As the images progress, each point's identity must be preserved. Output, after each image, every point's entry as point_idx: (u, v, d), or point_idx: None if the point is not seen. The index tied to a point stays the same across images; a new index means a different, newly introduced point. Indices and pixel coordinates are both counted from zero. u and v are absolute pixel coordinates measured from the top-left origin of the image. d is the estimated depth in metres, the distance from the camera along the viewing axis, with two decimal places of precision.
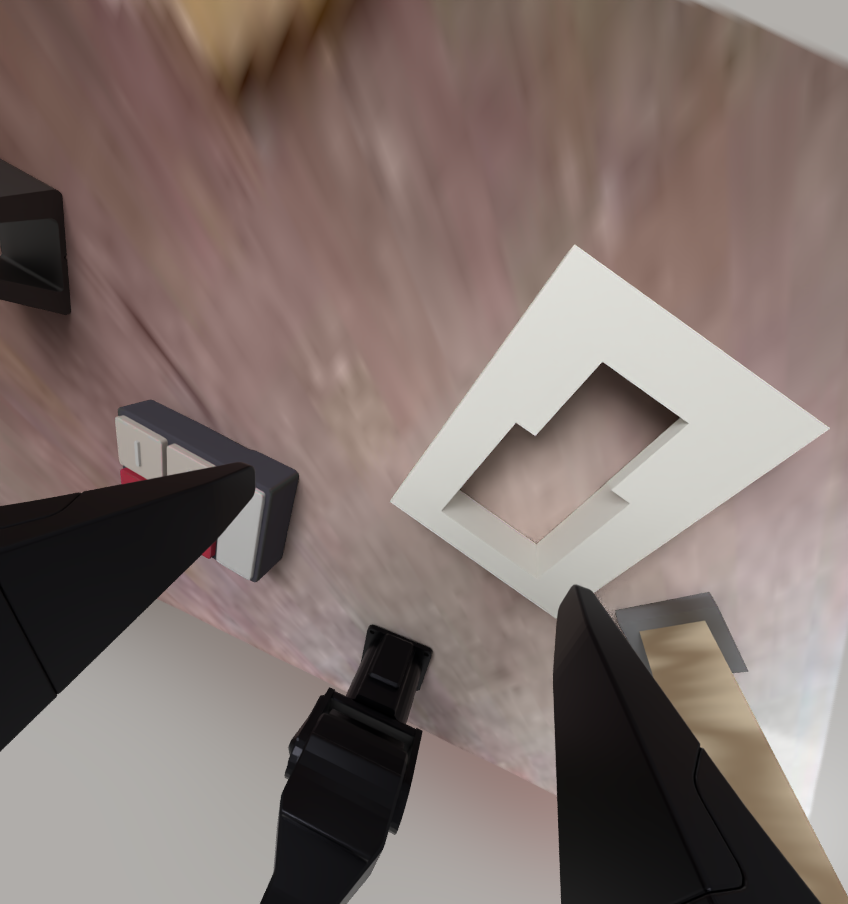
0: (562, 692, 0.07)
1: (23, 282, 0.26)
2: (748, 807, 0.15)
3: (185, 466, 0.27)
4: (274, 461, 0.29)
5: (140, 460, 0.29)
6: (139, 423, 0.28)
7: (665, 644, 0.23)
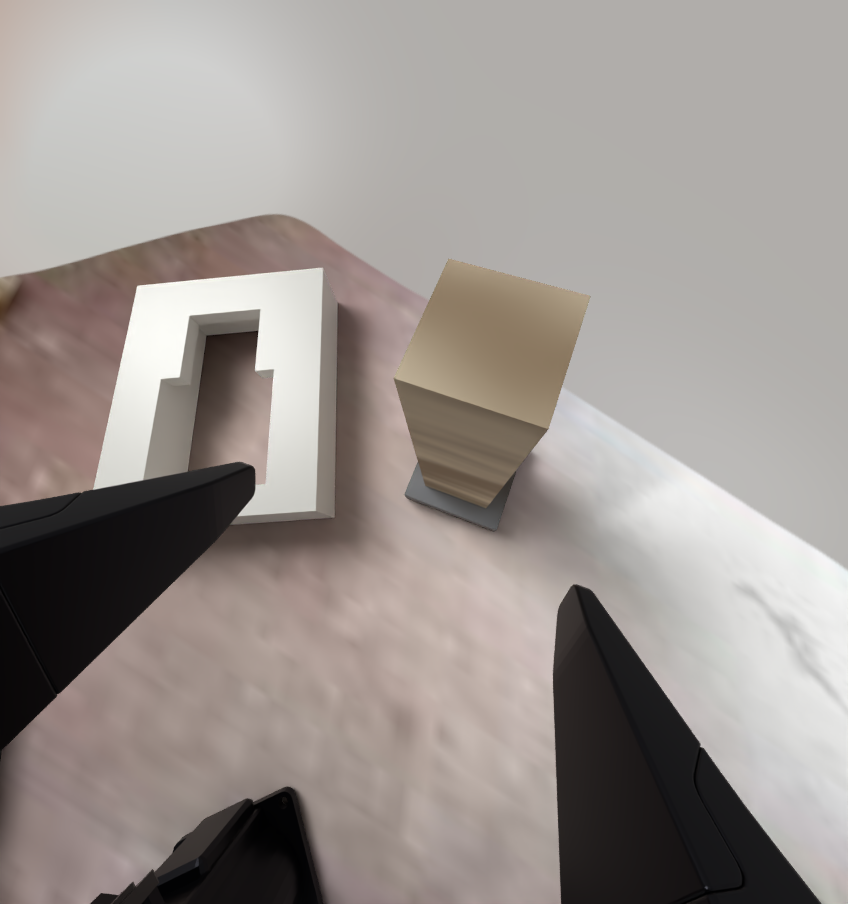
0: (562, 692, 0.07)
1: None
2: None
3: None
4: None
5: None
6: None
7: None
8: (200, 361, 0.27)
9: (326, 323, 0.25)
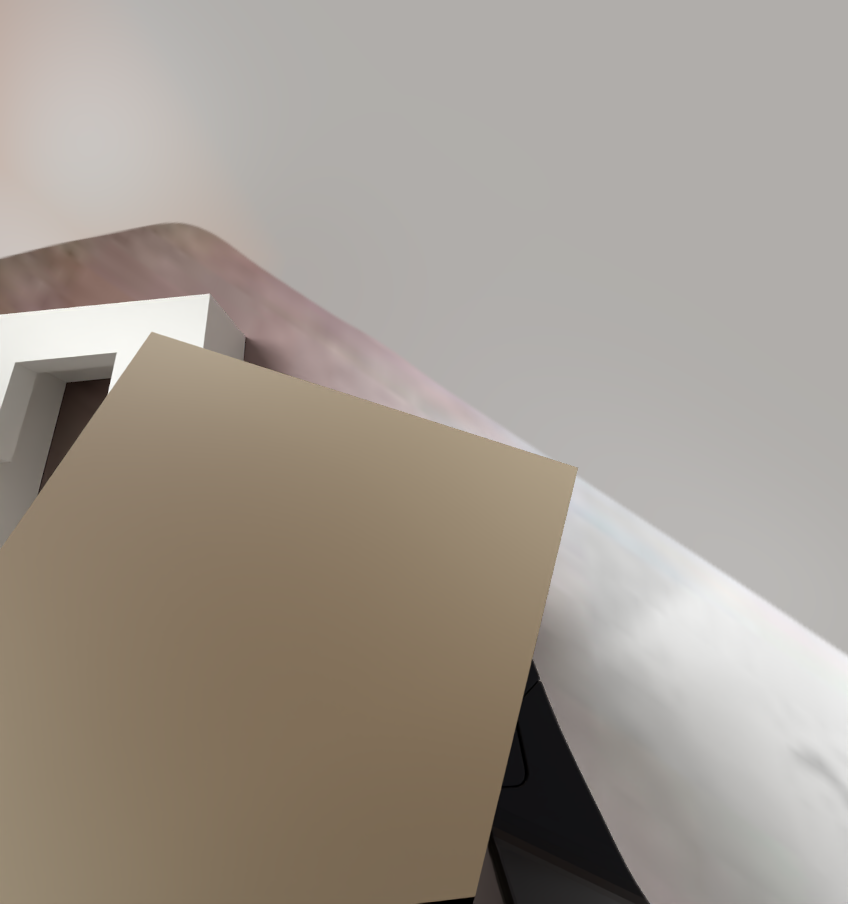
0: None
1: None
2: None
3: None
4: None
5: None
6: None
7: None
8: (50, 419, 0.20)
9: None
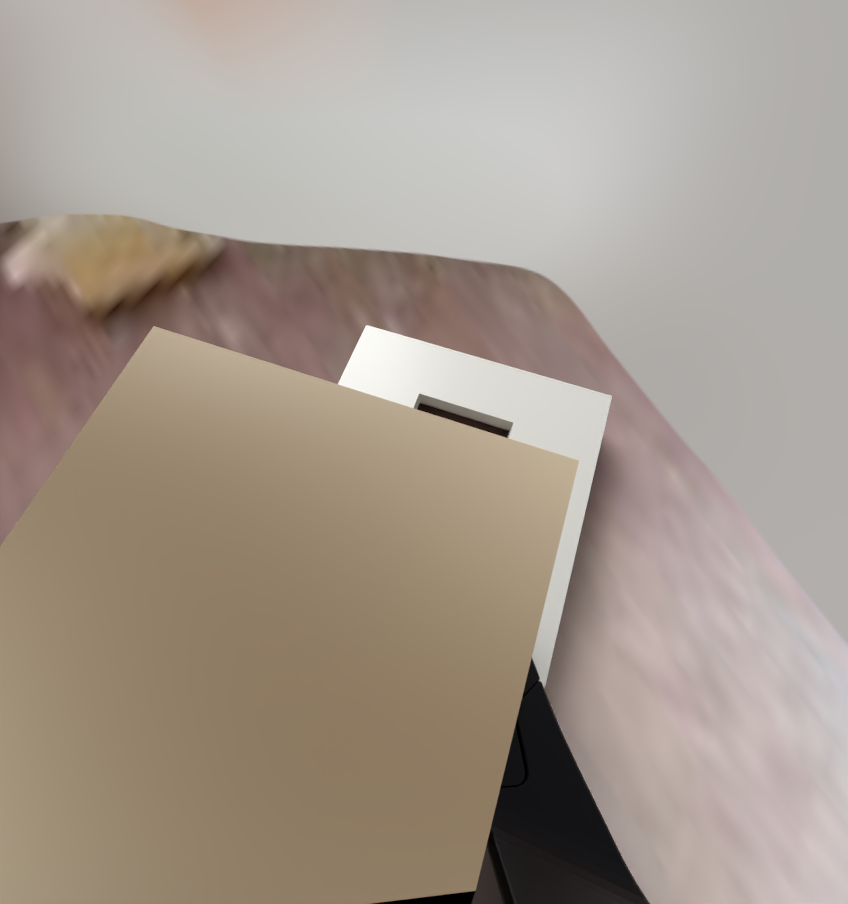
0: None
1: None
2: None
3: None
4: None
5: None
6: None
7: None
8: None
9: None
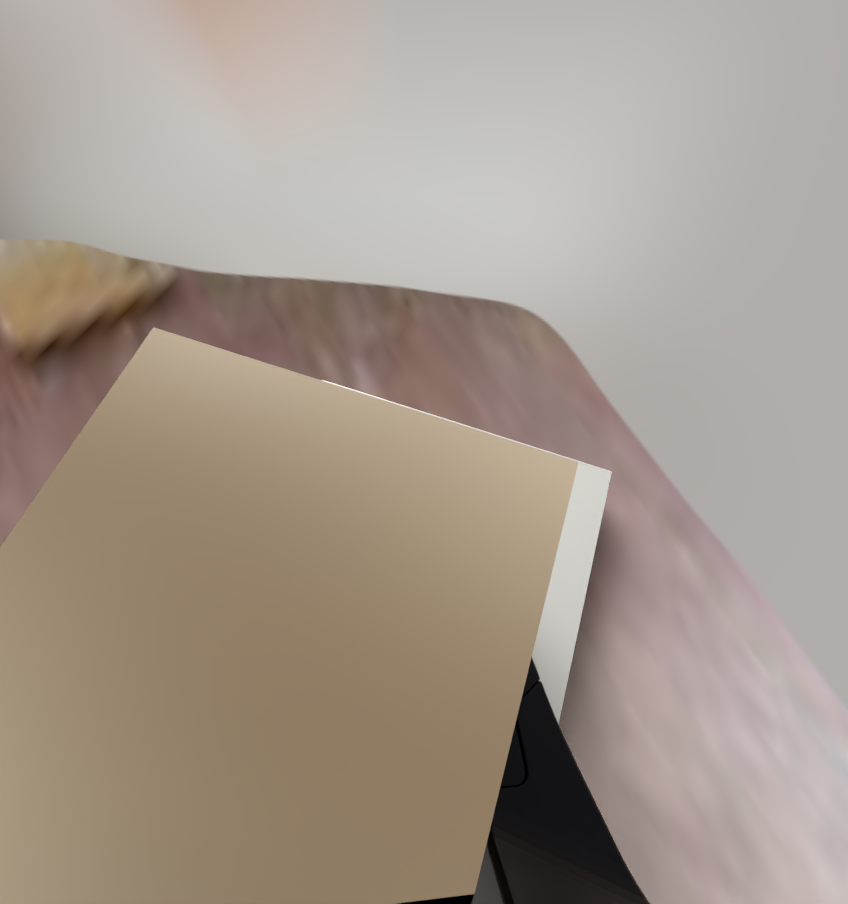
0: None
1: None
2: None
3: None
4: None
5: None
6: None
7: None
8: None
9: None
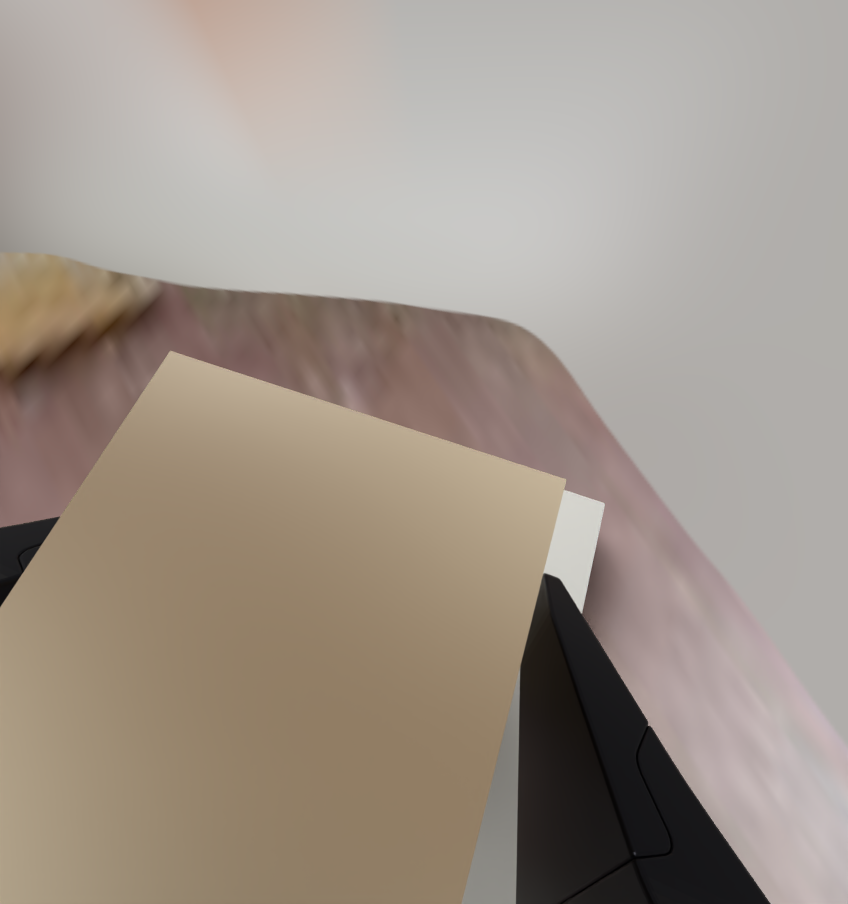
0: (527, 677, 0.07)
1: None
2: None
3: None
4: None
5: None
6: None
7: None
8: None
9: None
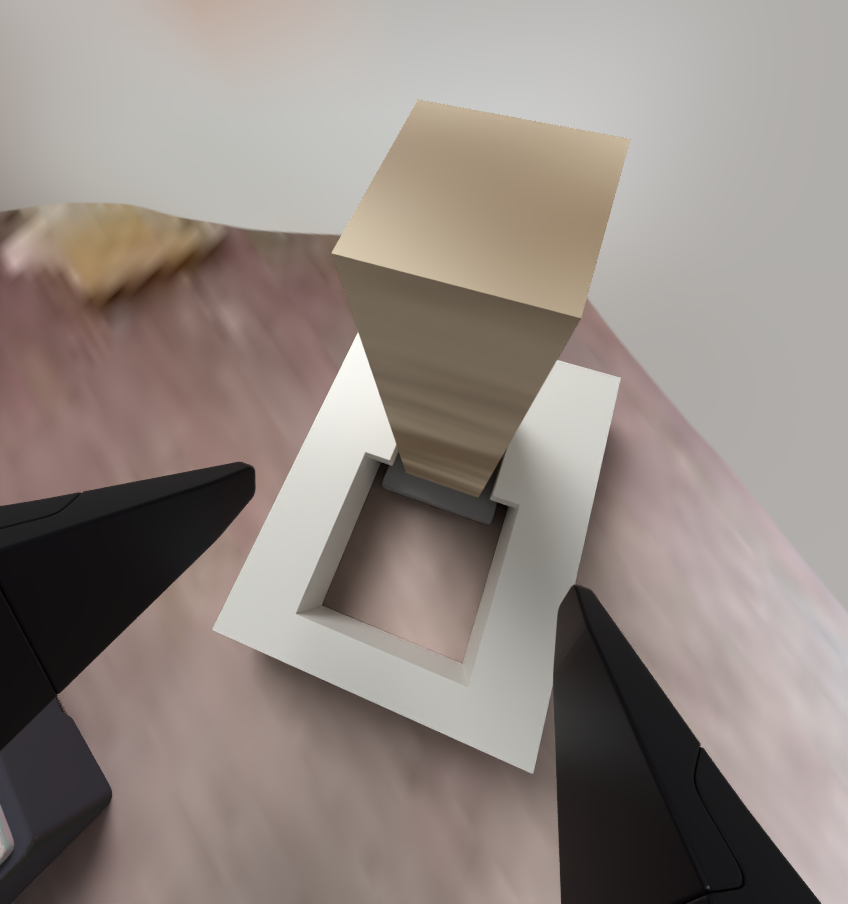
0: (562, 692, 0.07)
1: None
2: None
3: None
4: (87, 755, 0.16)
5: None
6: None
7: None
8: None
9: None
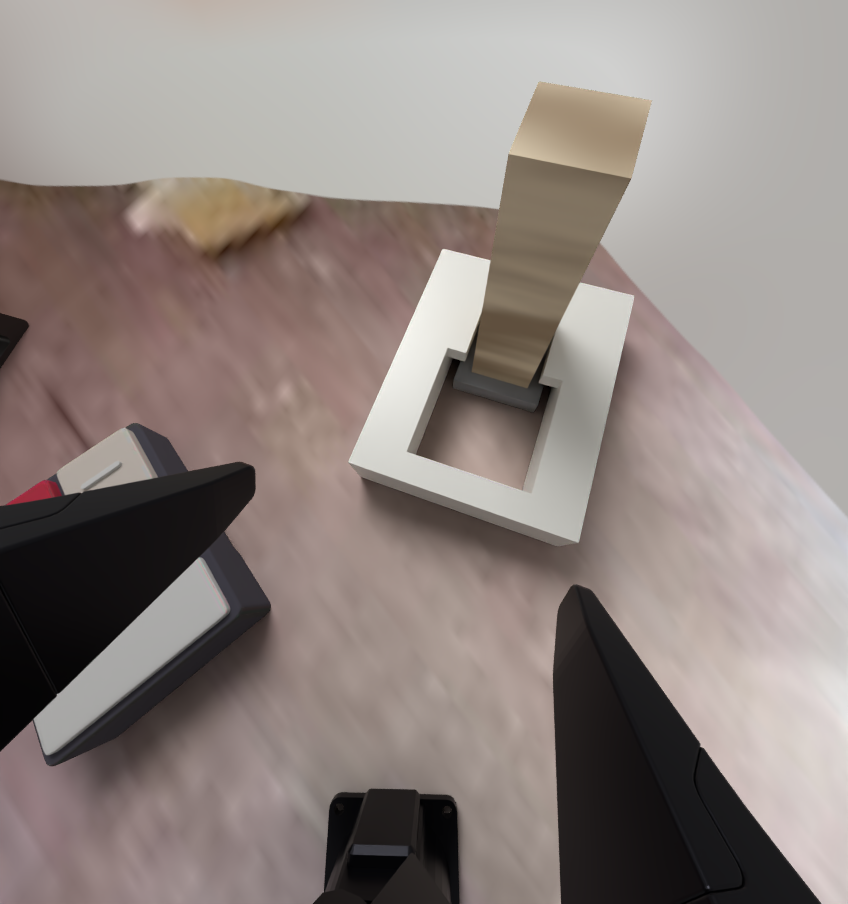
0: (562, 692, 0.07)
1: None
2: None
3: None
4: (253, 578, 0.22)
5: (94, 484, 0.21)
6: (142, 448, 0.22)
7: None
8: None
9: None
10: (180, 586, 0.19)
